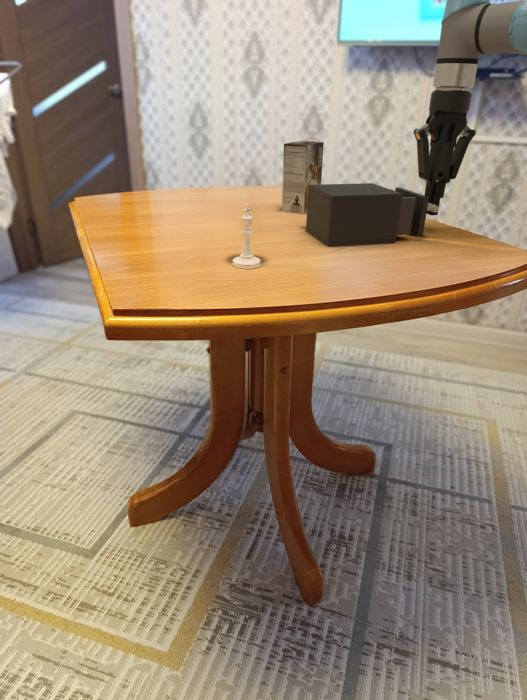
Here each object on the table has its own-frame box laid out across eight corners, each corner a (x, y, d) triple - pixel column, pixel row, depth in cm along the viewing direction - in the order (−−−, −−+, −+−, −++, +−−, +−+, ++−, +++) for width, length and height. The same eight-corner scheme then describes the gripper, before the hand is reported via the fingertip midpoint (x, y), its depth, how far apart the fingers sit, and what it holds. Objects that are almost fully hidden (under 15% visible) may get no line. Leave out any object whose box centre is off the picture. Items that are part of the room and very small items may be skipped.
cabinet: (367, 228, 113) (372, 183, 108) (395, 243, 102) (402, 193, 98) (305, 231, 109) (308, 184, 105) (327, 246, 98) (332, 195, 94)
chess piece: (226, 264, 87) (225, 204, 82) (246, 258, 90) (246, 200, 86) (247, 270, 84) (247, 209, 80) (266, 264, 87) (268, 205, 83)
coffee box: (297, 207, 131) (300, 140, 124) (320, 210, 129) (324, 142, 121) (280, 213, 124) (283, 142, 117) (304, 216, 121) (308, 144, 114)
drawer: (412, 222, 114) (417, 186, 111) (440, 235, 105) (447, 196, 101) (339, 226, 110) (342, 188, 106) (362, 239, 100) (366, 199, 97)
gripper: (469, 90, 102) (447, 209, 113) (411, 88, 99) (394, 211, 110) (493, 90, 96) (467, 216, 107) (432, 89, 93) (412, 219, 104)
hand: (430, 213), depth 108 cm, fingers closed
